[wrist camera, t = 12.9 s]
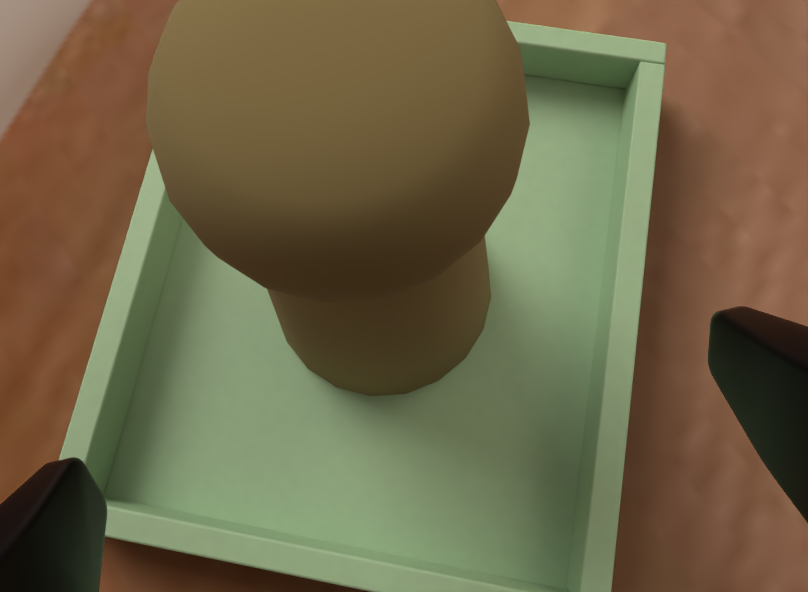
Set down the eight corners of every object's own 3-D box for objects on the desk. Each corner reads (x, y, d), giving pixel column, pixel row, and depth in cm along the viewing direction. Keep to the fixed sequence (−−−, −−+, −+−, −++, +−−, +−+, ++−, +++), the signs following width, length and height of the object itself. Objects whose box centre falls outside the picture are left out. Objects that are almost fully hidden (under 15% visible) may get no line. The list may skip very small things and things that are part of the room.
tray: (584, 619, 17) (606, 641, 15) (82, 516, 18) (38, 523, 16) (643, 84, 20) (668, 42, 18) (224, 23, 21) (203, -23, 19)
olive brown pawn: (440, 433, 17) (467, 389, 7) (236, 343, 18) (-37, 171, 7) (523, 232, 18) (659, -78, 8) (330, 156, 19) (214, -223, 9)
